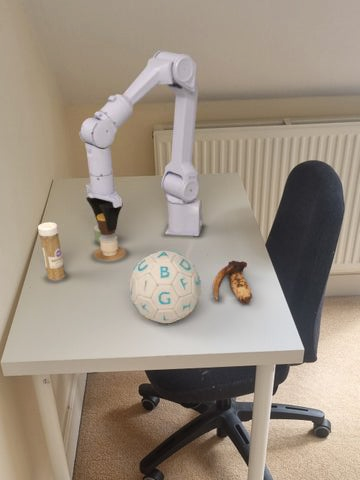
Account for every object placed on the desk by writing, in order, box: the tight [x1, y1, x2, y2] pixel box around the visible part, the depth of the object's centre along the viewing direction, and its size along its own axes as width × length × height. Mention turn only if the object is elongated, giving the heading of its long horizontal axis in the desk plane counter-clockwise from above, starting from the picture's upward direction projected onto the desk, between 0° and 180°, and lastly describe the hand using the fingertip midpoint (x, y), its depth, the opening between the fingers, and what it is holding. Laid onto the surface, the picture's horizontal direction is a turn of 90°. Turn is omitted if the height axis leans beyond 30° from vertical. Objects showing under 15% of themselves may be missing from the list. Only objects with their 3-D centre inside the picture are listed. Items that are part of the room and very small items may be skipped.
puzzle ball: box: [128, 250, 202, 325], centre depth 124 cm, size 15×15×15 cm
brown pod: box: [96, 213, 116, 235], centre depth 150 cm, size 5×5×4 cm
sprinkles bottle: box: [37, 221, 66, 281], centre depth 142 cm, size 5×5×13 cm
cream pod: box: [99, 233, 119, 256], centre depth 153 cm, size 5×5×4 cm
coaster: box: [93, 246, 127, 261], centre depth 155 cm, size 8×8×1 cm
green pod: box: [93, 224, 102, 244], centre depth 161 cm, size 5×5×4 cm
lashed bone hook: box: [212, 260, 253, 305], centre depth 136 cm, size 9×5×18 cm
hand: (107, 227), depth 150 cm, fingers closed on brown pod, 4 cm apart
